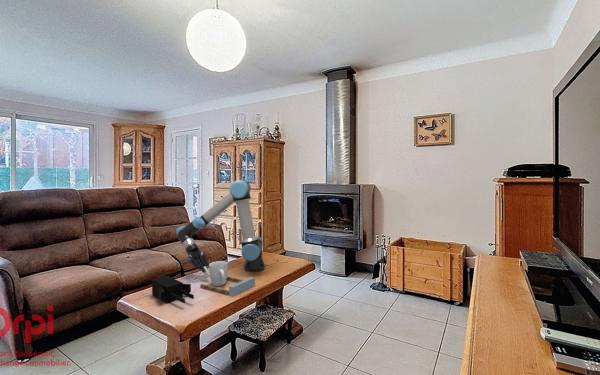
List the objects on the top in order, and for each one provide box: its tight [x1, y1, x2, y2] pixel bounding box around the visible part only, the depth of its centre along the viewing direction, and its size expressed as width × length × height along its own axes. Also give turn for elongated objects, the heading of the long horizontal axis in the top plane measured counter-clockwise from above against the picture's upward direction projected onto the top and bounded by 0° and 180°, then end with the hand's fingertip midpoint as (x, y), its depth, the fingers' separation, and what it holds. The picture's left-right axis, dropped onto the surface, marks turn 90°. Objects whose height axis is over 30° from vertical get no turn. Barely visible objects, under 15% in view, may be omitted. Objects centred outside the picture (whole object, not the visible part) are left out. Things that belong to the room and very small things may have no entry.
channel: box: [199, 275, 244, 296], centre depth 178 cm, size 23×19×2 cm
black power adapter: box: [151, 275, 195, 304], centre depth 159 cm, size 17×9×30 cm
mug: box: [208, 260, 229, 287], centre depth 180 cm, size 15×11×13 cm
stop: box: [228, 276, 256, 297], centre depth 171 cm, size 3×18×5 cm, turn 148°
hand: (208, 275), depth 186 cm, fingers closed
